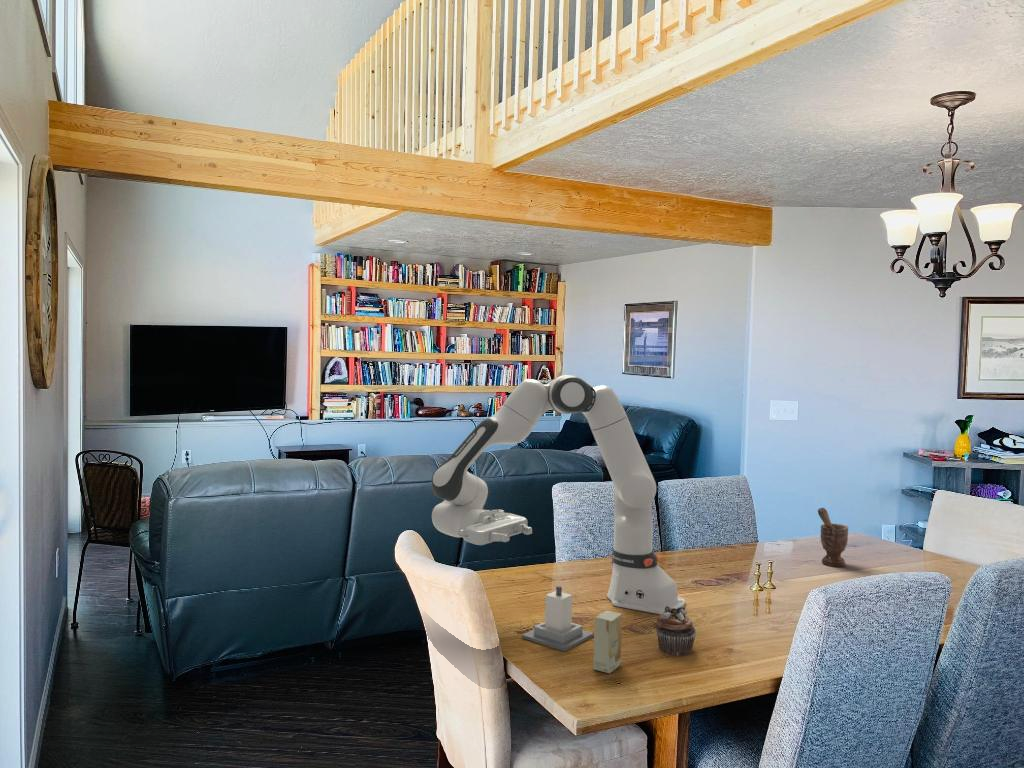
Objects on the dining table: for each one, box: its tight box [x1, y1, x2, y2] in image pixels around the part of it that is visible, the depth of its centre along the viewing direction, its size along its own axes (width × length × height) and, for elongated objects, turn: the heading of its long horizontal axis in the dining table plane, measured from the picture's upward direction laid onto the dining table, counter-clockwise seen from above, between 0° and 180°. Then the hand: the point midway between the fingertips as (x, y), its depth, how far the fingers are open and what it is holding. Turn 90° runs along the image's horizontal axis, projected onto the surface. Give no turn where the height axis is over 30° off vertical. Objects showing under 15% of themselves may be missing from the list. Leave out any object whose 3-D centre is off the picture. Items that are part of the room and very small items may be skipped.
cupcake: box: [655, 606, 697, 656], centre depth 187 cm, size 10×10×10 cm
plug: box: [544, 585, 573, 633], centre depth 194 cm, size 5×4×12 cm
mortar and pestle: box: [817, 507, 849, 568], centre depth 259 cm, size 12×9×20 cm
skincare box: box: [592, 610, 623, 674], centre depth 176 cm, size 6×4×12 cm
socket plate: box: [521, 620, 594, 652], centre depth 194 cm, size 13×13×3 cm
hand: (519, 534), depth 201 cm, fingers open, 8 cm apart
